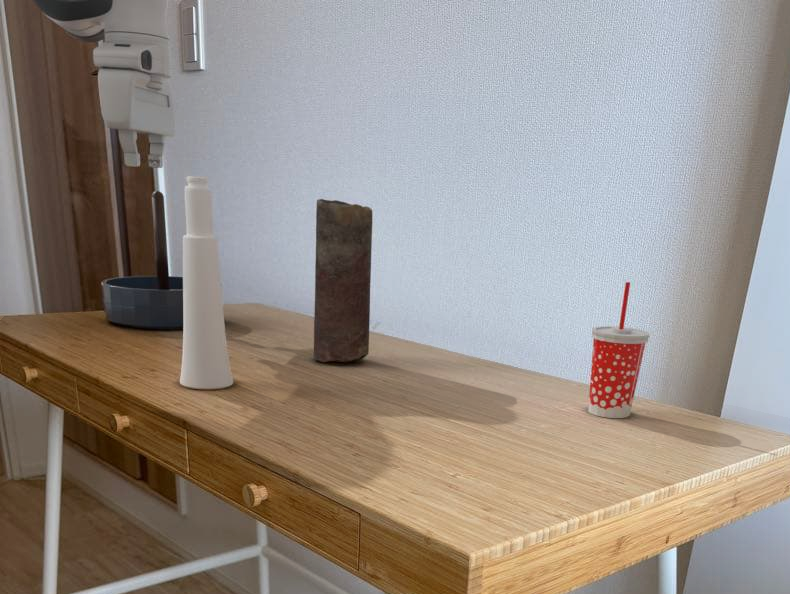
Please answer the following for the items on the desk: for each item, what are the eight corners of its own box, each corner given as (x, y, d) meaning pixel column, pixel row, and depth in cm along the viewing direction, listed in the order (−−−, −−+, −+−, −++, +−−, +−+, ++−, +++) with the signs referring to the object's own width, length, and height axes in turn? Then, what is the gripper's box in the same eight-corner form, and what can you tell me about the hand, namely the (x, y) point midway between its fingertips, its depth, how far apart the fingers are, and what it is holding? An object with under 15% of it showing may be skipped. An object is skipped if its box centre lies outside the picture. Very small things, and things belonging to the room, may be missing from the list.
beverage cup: (602, 403, 97) (620, 278, 91) (647, 414, 93) (669, 284, 87) (569, 410, 93) (586, 280, 87) (616, 423, 89) (636, 287, 83)
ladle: (140, 319, 131) (130, 190, 124) (154, 313, 136) (145, 189, 129) (177, 321, 131) (170, 192, 123) (189, 315, 136) (183, 191, 129)
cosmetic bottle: (191, 391, 92) (179, 176, 84) (172, 380, 97) (159, 174, 88) (241, 387, 95) (235, 178, 87) (221, 376, 100) (213, 177, 91)
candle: (335, 352, 117) (337, 199, 109) (379, 360, 113) (385, 202, 105) (302, 360, 111) (302, 198, 103) (347, 369, 107) (351, 202, 99)
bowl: (85, 326, 126) (81, 285, 124) (131, 309, 143) (128, 273, 140) (203, 334, 125) (201, 293, 123) (235, 316, 142) (234, 279, 139)
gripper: (143, 69, 128) (149, 167, 134) (86, 49, 109) (95, 164, 115) (184, 71, 128) (187, 169, 133) (133, 52, 109) (140, 167, 115)
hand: (144, 167), depth 124 cm, fingers open, 8 cm apart
